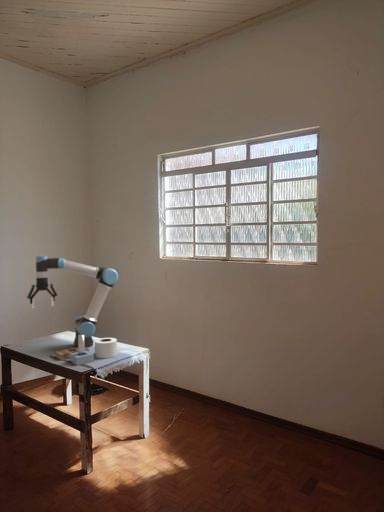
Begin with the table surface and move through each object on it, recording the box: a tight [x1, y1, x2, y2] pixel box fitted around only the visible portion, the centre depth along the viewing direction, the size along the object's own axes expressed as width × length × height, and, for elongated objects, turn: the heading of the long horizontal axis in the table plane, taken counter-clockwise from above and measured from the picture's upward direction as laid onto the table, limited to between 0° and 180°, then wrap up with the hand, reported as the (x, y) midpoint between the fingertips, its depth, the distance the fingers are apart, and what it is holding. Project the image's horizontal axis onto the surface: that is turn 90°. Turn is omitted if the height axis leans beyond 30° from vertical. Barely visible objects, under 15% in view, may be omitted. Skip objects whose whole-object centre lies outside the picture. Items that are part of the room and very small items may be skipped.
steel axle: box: [78, 334, 85, 356], centre depth 249 cm, size 4×4×18 cm
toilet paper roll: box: [94, 337, 118, 359], centre depth 263 cm, size 16×15×11 cm
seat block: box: [69, 350, 95, 366], centre depth 249 cm, size 12×12×5 cm
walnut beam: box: [55, 347, 90, 361], centre depth 261 cm, size 20×10×4 cm, turn 130°
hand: (42, 307), depth 262 cm, fingers open, 13 cm apart
